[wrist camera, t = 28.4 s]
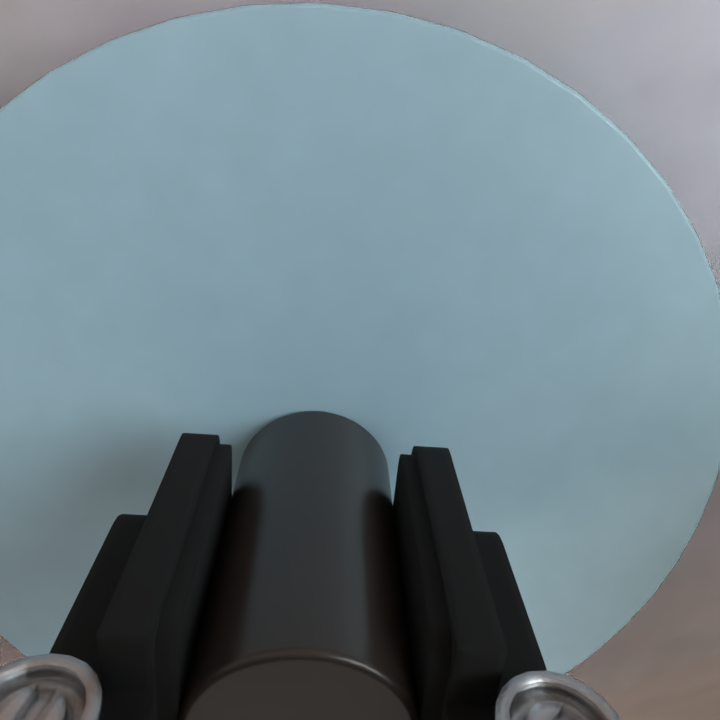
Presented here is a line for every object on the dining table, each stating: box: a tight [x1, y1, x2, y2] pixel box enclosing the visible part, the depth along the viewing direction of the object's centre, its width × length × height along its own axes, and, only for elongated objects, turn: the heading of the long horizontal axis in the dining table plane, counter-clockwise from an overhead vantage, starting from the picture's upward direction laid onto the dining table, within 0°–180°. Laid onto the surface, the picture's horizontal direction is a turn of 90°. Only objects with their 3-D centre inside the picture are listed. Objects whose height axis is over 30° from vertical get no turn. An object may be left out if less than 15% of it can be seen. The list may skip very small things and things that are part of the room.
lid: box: [0, 3, 720, 720], centre depth 10 cm, size 15×15×6 cm
